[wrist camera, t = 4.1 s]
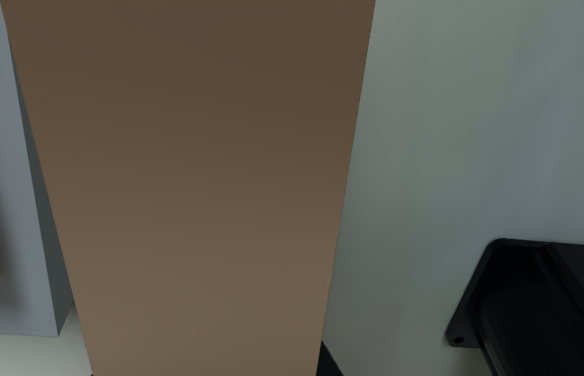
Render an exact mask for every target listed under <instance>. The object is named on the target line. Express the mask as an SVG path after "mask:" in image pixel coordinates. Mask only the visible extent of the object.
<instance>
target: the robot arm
mask: <svg viewBox="0 0 584 376" xmlns="http://www.w3.org/2000/svg"><path fill="white" fill-rule="evenodd" d="M502 249H504V250H503V251H501V252H499V251H500V250H502ZM446 337H447V340H448V343H449V345H451V346H453V347H464V348H481V351H482V353H483V355H484V357H485V360H486V362H487V364H488V366H489V369H490V371H491V373H492V376H584V245H578V244H567V243H555V242H541V241H529V240H517V239H506V238H502V239H497V240H495V241H493V242H492V243H491V244H490V245H489V246H488V248H487V250H486V252H485V254H484V256H483V259H482V261H481V263H480V265H479V267H478V269H477V271H476V273H475V275H474V277H473V279H472V281H471V283H470V285H469V287H468V289H467V291H466V294H465V296H464V298H463V300H462V302H461V304H460V306H459V308H458V310H457V312H456V314H455V316H454V318H453V320H452V322H451V324H450V326H449V328H448V331H447V333H446ZM91 376H93V374H92V375H91ZM316 376H344V375H343V374H342V372H341V370H340V369H339V367H338V366H337V364H336V362H335V361H334V359H333V357H332V356H331V354H330V352H329V351H328V349H327V347H326V346H325V344H324V342H323V341H322V339H321V345H320V352H319V358H318V364H317V370H316Z"/></svg>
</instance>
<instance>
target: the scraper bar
mask: <svg viewBox="0 0 584 376" xmlns="http://www.w3.org/2000/svg"><path fill="white" fill-rule="evenodd" d="M375 1H376V0H0V5H1V9H2V13H3V17H4V21H5V25H6V29H7V33H8V37H9V41H10V45H11V49H12V53H13V57H14V61H15V65H16V69H17V73H18V77H19V81H20V85H21V89H22V93H23V97H24V101H25V105H26V109H27V113H28V117H29V121H30V125H31V129H32V133H33V137H34V141H35V145H36V149H37V153H38V157H39V161H40V165H41V169H42V173H43V177H44V181H45V185H46V189H47V193H48V197H49V201H50V205H51V209H52V213H53V217H54V221H55V225H56V229H57V233H58V237H59V241H60V245H61V249H62V253H63V257H64V261H65V265H66V269H67V273H68V277H69V281H70V285H71V289H72V293H73V297H74V301H75V305H76V309H77V313H78V317H79V321H80V325H81V329H82V333H83V337H84V341H85V345H86V349H87V353H88V357H89V361H90V365H91V369H92V373H93V376H316V370H317V364H318V358H319V352H320V345H321V339H322V333H323V326H324V320H325V314H326V308H327V301H328V295H329V289H330V283H331V276H332V270H333V264H334V258H335V251H336V245H337V239H338V233H339V226H340V220H341V214H342V208H343V201H344V195H345V189H346V182H347V176H348V170H349V164H350V157H351V151H352V145H353V139H354V132H355V126H356V120H357V114H358V107H359V101H360V95H361V89H362V82H363V76H364V70H365V64H366V57H367V51H368V45H369V38H370V32H371V26H372V20H373V13H374V7H375Z"/></svg>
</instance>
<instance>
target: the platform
mask: <svg viewBox="0 0 584 376" xmlns="http://www.w3.org/2000/svg"><path fill="white" fill-rule="evenodd" d="M0 273H1V277H0V334H6V335H25V336H44V337H58V336H59V334H60V331H61V329H62V327H63V324H64V322H65V319H66V317H67V315H68V312H69V310H70V307H71V305H72V302H73V300H74V297H73V293H72V289H71V285H70V281H69V277H68V273H67V269H66V265H65V261H64V257H63V253H62V249H61V245H60V241H59V237H58V233H57V229H56V225H55V221H54V217H53V213H52V209H51V205H50V201H49V197H48V193H47V189H46V185H45V181H44V177H43V173H42V169H41V165H40V161H39V157H38V153H37V149H36V145H35V141H34V137H33V133H32V129H31V125H30V121H29V117H28V113H27V109H26V105H25V101H24V97H23V93H22V89H21V85H20V81H19V77H18V73H17V69H16V65H15V61H14V57H13V53H12V49H11V45H10V41H9V37H8V33H7V29H6V25H5V21H4V17H3V13H2V9H1V5H0Z"/></svg>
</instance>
